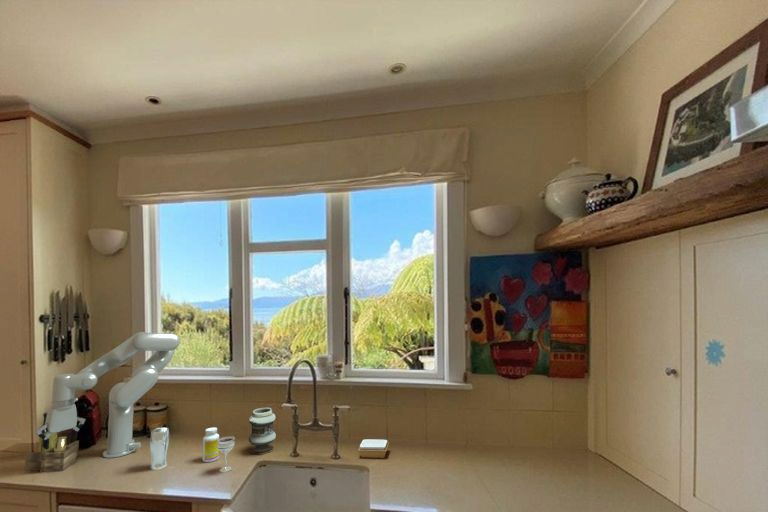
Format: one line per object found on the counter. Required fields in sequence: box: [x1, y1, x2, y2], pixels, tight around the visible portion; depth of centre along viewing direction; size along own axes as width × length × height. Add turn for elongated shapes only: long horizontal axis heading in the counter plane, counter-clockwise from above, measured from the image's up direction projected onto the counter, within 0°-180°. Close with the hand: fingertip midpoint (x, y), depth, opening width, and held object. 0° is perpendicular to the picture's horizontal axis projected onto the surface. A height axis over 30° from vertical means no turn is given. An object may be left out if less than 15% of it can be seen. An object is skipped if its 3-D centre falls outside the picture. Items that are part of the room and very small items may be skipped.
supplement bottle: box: [201, 427, 220, 463], centre depth 169 cm, size 7×7×13 cm
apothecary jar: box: [248, 407, 277, 455], centre depth 178 cm, size 12×12×18 cm
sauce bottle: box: [38, 411, 58, 452], centre depth 176 cm, size 7×6×20 cm
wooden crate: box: [24, 439, 80, 474], centre depth 167 cm, size 16×16×7 cm
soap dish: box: [357, 438, 390, 459], centre depth 170 cm, size 12×10×5 cm
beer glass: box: [149, 426, 170, 471], centre depth 162 cm, size 7×7×15 cm
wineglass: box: [217, 435, 236, 473], centre depth 158 cm, size 7×7×12 cm
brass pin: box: [54, 436, 68, 452], centre depth 164 cm, size 4×4×12 cm
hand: (60, 444), depth 164 cm, fingers open, 9 cm apart
